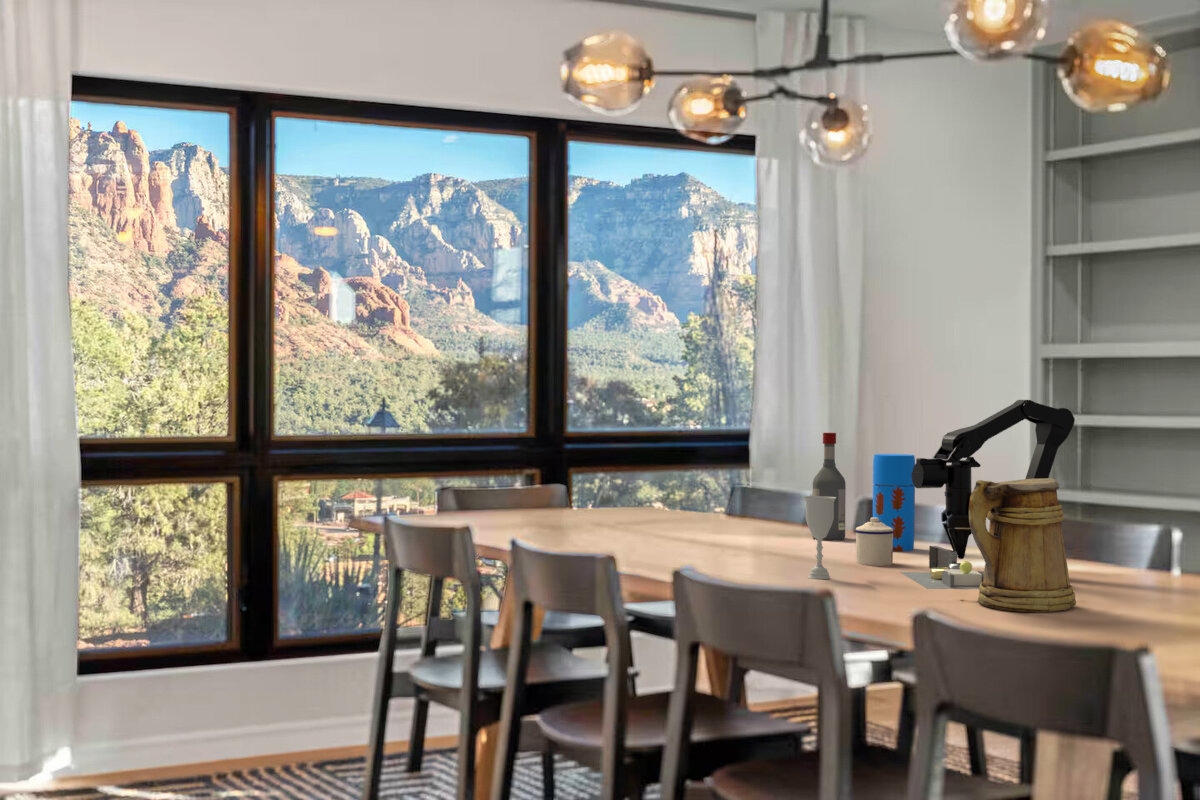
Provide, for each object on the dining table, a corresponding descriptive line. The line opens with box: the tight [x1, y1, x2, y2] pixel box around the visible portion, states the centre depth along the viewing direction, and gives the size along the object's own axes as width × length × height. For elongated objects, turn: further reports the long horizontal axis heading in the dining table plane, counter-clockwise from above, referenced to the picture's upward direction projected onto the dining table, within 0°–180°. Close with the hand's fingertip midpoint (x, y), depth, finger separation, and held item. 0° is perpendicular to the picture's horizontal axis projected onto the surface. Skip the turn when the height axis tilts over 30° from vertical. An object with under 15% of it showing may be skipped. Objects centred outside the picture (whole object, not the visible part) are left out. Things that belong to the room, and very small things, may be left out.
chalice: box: [803, 495, 836, 580], centre depth 315 cm, size 7×7×18 cm
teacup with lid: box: [854, 517, 894, 567], centre depth 337 cm, size 12×9×12 cm
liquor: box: [812, 432, 847, 541], centre depth 398 cm, size 9×9×30 cm
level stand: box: [899, 570, 984, 590], centre depth 306 cm, size 22×26×4 cm
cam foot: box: [944, 560, 982, 586], centre depth 301 cm, size 6×8×5 cm
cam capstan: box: [928, 545, 962, 580], centre depth 315 cm, size 9×18×5 cm, turn 10°
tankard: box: [969, 477, 1077, 613], centre depth 274 cm, size 18×24×25 cm
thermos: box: [872, 453, 916, 552], centre depth 373 cm, size 11×11×25 cm
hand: (959, 556), depth 318 cm, fingers open, 9 cm apart
